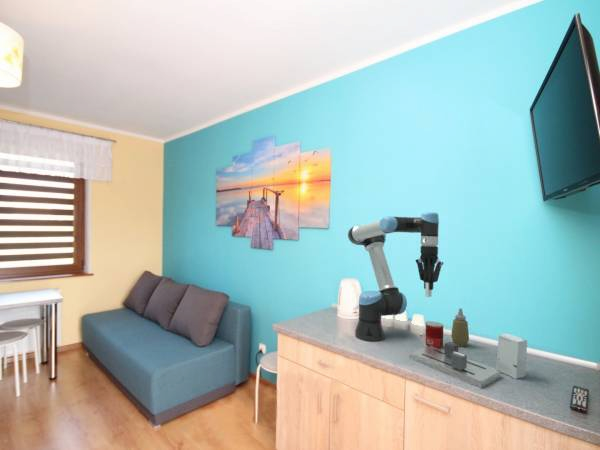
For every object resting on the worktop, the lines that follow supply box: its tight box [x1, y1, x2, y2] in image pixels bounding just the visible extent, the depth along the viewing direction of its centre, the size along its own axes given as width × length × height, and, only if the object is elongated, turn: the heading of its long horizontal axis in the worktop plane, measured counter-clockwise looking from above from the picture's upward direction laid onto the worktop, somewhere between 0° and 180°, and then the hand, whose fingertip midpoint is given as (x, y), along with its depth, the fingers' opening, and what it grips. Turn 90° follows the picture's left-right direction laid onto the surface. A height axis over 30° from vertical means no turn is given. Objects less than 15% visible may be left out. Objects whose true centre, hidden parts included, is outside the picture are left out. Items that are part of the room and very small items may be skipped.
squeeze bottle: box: [450, 307, 470, 347], centre depth 154 cm, size 8×8×18 cm
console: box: [409, 341, 502, 389], centre depth 128 cm, size 30×16×8 cm, turn 35°
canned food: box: [425, 320, 444, 349], centre depth 151 cm, size 8×8×11 cm
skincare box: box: [495, 333, 528, 380], centre depth 123 cm, size 8×6×15 cm
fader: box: [451, 351, 468, 370], centre depth 121 cm, size 4×4×5 cm
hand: (428, 296), depth 142 cm, fingers closed
